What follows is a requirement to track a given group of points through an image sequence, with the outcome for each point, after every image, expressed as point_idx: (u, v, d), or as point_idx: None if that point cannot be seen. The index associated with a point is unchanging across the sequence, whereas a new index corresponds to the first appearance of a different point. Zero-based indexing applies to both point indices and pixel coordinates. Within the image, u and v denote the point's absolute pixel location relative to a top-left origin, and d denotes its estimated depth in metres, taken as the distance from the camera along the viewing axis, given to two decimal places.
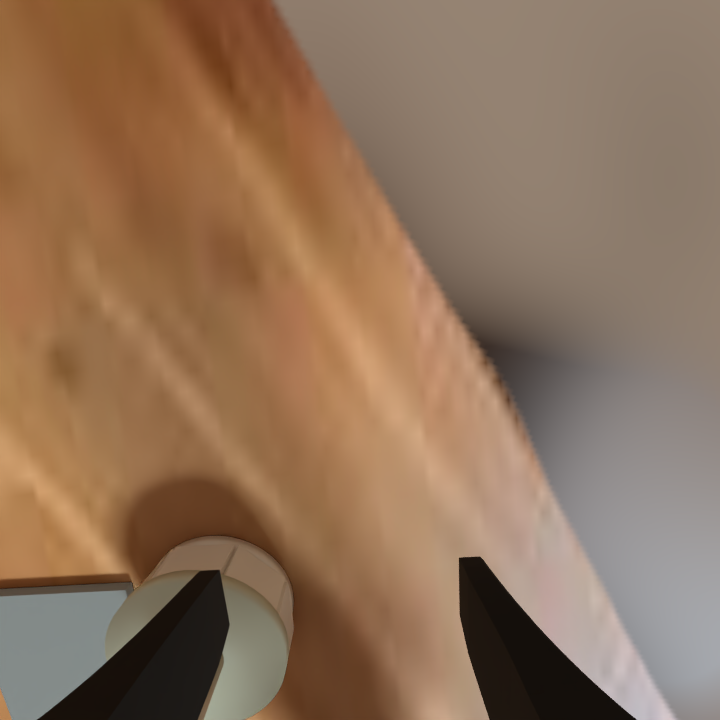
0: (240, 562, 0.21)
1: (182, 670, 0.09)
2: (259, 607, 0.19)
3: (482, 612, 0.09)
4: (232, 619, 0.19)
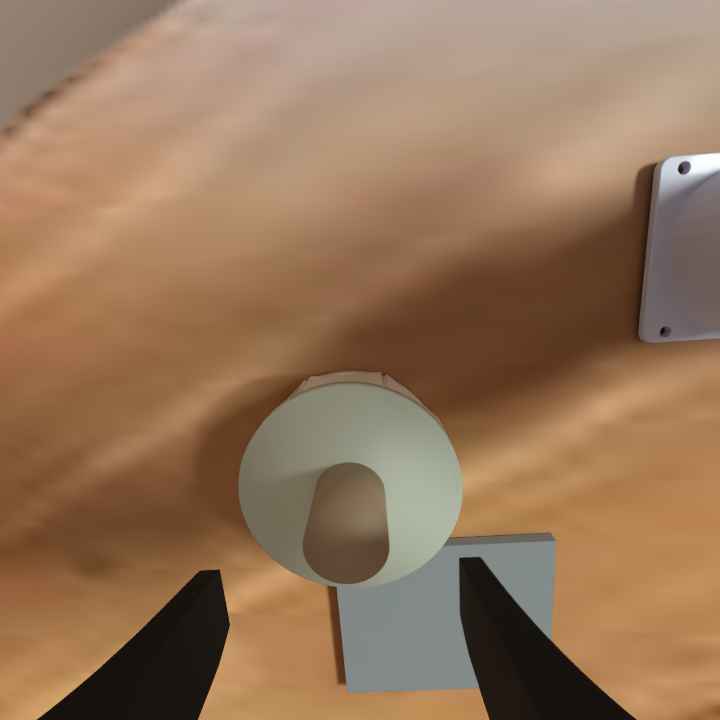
0: None
1: (182, 669, 0.09)
2: (271, 414, 0.15)
3: (482, 612, 0.09)
4: (287, 447, 0.16)
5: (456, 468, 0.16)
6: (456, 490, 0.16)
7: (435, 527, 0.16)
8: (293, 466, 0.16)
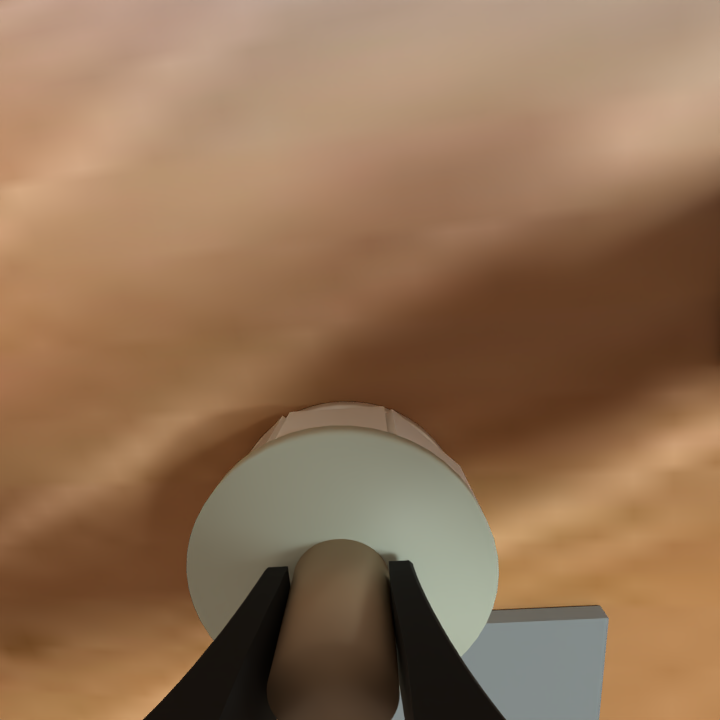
0: None
1: (266, 666, 0.09)
2: (231, 473, 0.11)
3: (396, 616, 0.09)
4: (254, 518, 0.11)
5: (490, 547, 0.11)
6: (489, 576, 0.11)
7: (460, 623, 0.12)
8: (262, 544, 0.11)
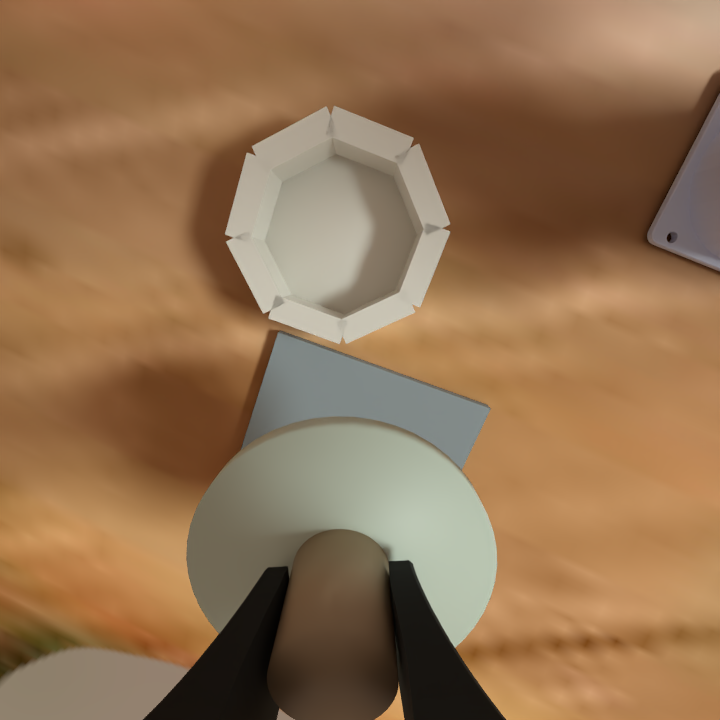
0: None
1: (266, 667, 0.09)
2: (232, 462, 0.11)
3: (396, 616, 0.09)
4: (255, 507, 0.11)
5: (489, 539, 0.11)
6: (487, 568, 0.12)
7: (457, 614, 0.12)
8: (263, 532, 0.11)
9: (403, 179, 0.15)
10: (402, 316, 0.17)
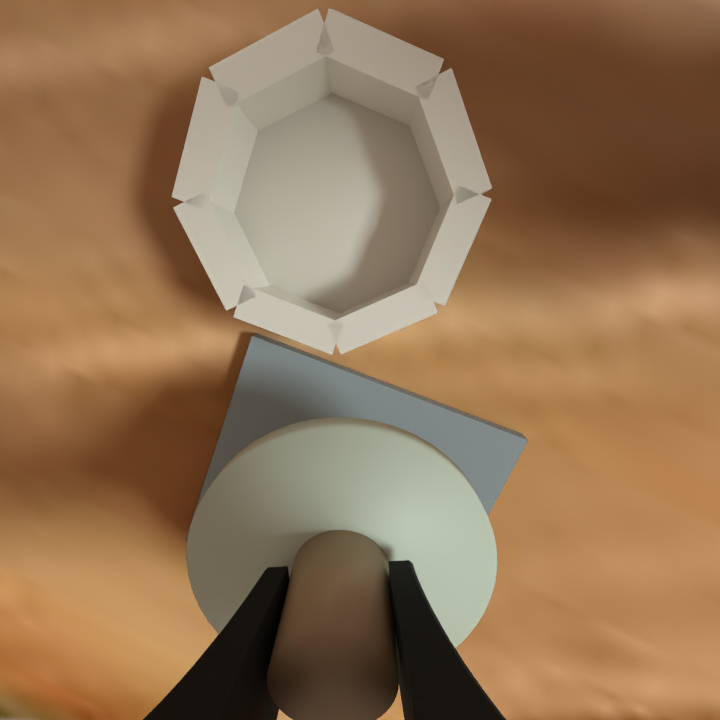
0: None
1: (266, 666, 0.09)
2: (232, 463, 0.11)
3: (396, 616, 0.09)
4: (255, 508, 0.11)
5: (489, 540, 0.11)
6: (488, 569, 0.12)
7: (457, 615, 0.12)
8: (263, 533, 0.11)
9: (427, 121, 0.11)
10: (419, 318, 0.12)
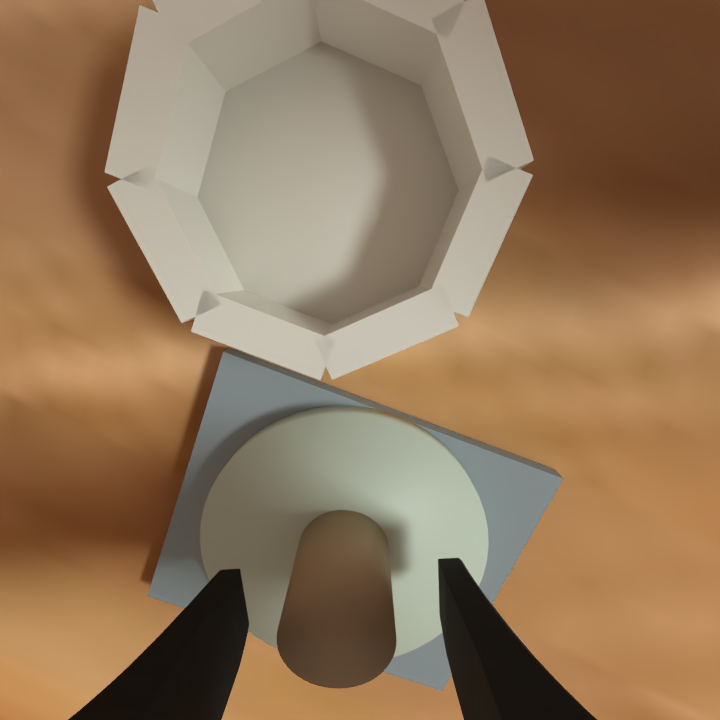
0: None
1: (207, 668, 0.09)
2: (244, 446, 0.12)
3: (456, 613, 0.09)
4: (264, 489, 0.12)
5: (481, 520, 0.12)
6: (480, 547, 0.12)
7: None
8: (271, 513, 0.12)
9: (447, 68, 0.08)
10: (435, 333, 0.09)
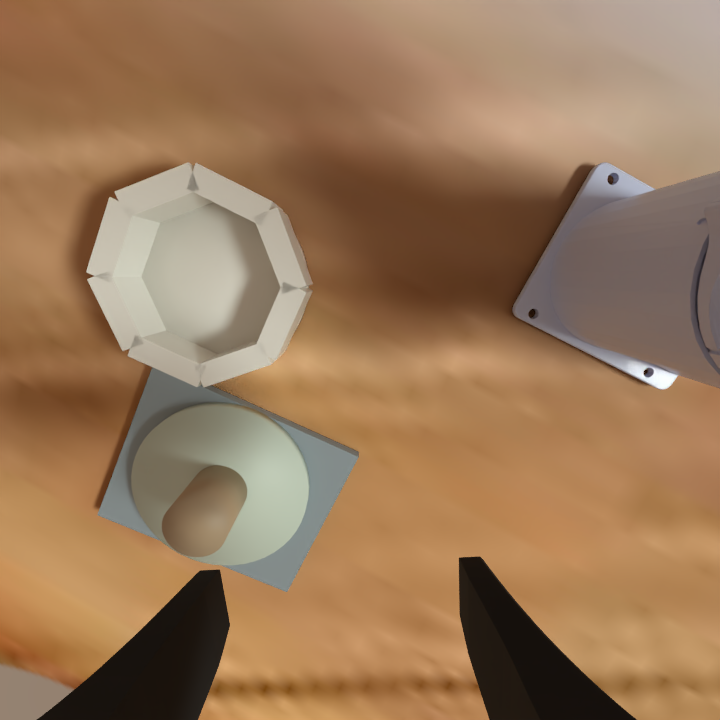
0: None
1: (182, 670, 0.09)
2: None
3: (482, 612, 0.09)
4: (172, 449, 0.20)
5: (303, 477, 0.20)
6: (302, 495, 0.20)
7: (286, 522, 0.21)
8: (176, 464, 0.20)
9: (262, 238, 0.16)
10: (258, 367, 0.17)
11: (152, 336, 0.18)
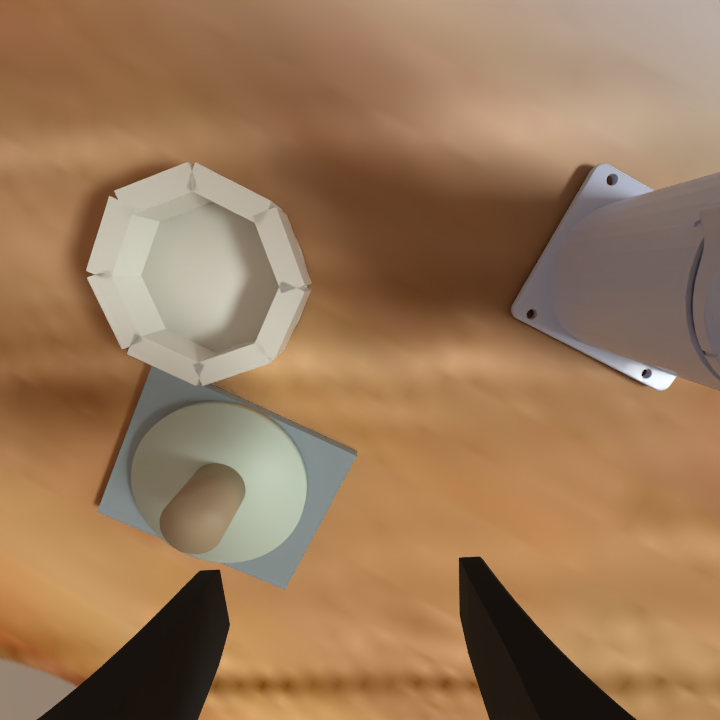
0: None
1: (182, 669, 0.09)
2: None
3: (482, 612, 0.09)
4: (171, 446, 0.20)
5: (300, 477, 0.20)
6: (300, 494, 0.21)
7: (283, 521, 0.21)
8: (175, 461, 0.20)
9: (261, 238, 0.16)
10: (257, 366, 0.17)
11: (151, 334, 0.18)
